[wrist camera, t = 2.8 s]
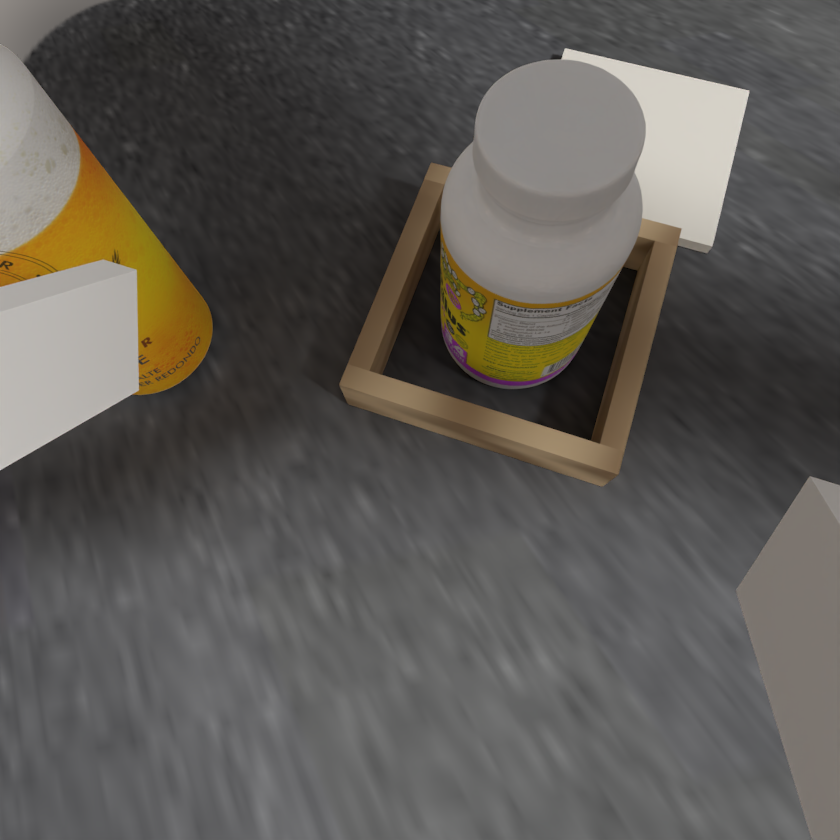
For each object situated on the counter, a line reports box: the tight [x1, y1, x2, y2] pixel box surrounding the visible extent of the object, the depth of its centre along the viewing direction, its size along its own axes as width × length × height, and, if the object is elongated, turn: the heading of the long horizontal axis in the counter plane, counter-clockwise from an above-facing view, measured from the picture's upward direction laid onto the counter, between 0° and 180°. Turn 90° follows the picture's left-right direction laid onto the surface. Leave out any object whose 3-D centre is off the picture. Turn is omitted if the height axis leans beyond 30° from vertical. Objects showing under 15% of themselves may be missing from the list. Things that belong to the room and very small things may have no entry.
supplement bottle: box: [440, 59, 646, 389], centre depth 22 cm, size 7×7×13 cm
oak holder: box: [339, 163, 682, 487], centre depth 27 cm, size 12×12×2 cm
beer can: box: [0, 44, 213, 395], centre depth 22 cm, size 6×6×15 cm
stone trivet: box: [562, 48, 749, 253], centre depth 31 cm, size 10×10×1 cm
